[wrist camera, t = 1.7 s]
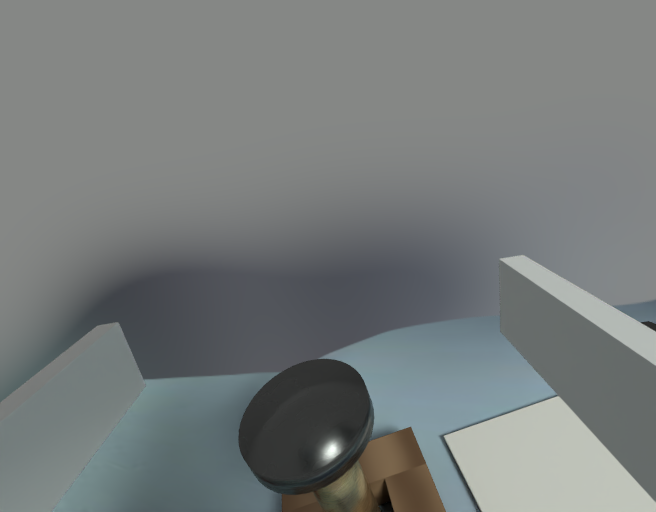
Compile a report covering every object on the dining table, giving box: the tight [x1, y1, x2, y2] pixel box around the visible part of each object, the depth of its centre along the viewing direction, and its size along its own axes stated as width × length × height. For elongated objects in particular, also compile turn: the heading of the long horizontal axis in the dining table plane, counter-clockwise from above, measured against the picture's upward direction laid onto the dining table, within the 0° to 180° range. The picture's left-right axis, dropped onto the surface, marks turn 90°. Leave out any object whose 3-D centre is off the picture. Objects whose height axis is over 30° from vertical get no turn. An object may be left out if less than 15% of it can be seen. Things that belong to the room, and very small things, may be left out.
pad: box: [444, 396, 656, 512], centre depth 29 cm, size 14×14×1 cm
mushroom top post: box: [239, 359, 381, 512], centre depth 26 cm, size 9×9×18 cm
